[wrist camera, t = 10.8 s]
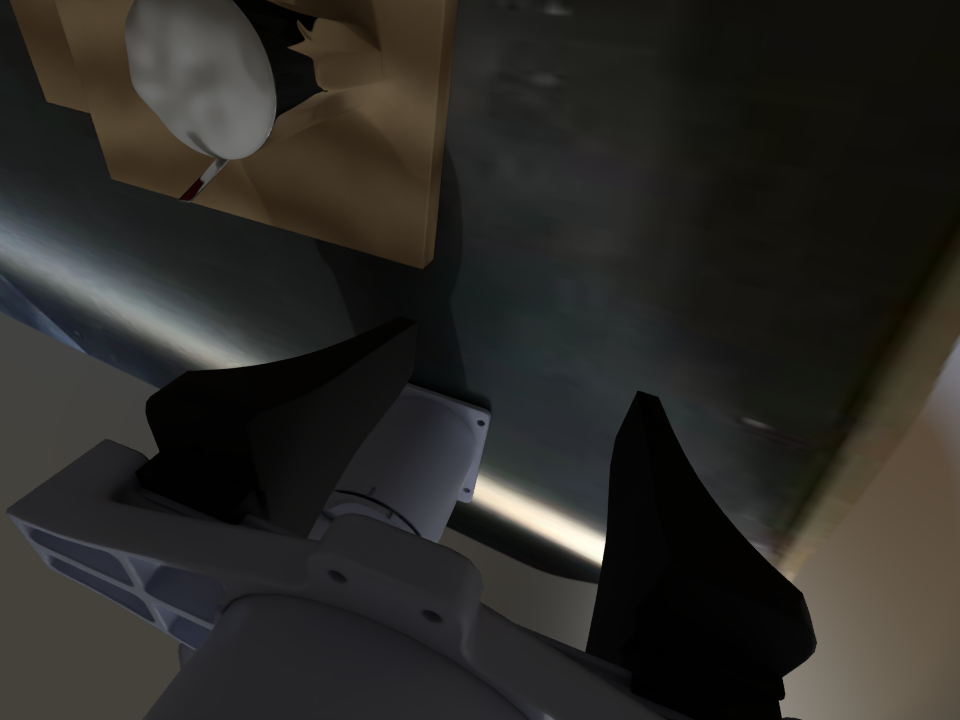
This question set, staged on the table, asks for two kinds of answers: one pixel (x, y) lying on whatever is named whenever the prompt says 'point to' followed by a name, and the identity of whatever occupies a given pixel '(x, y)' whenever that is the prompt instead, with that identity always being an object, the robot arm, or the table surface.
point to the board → (293, 161)
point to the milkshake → (246, 72)
